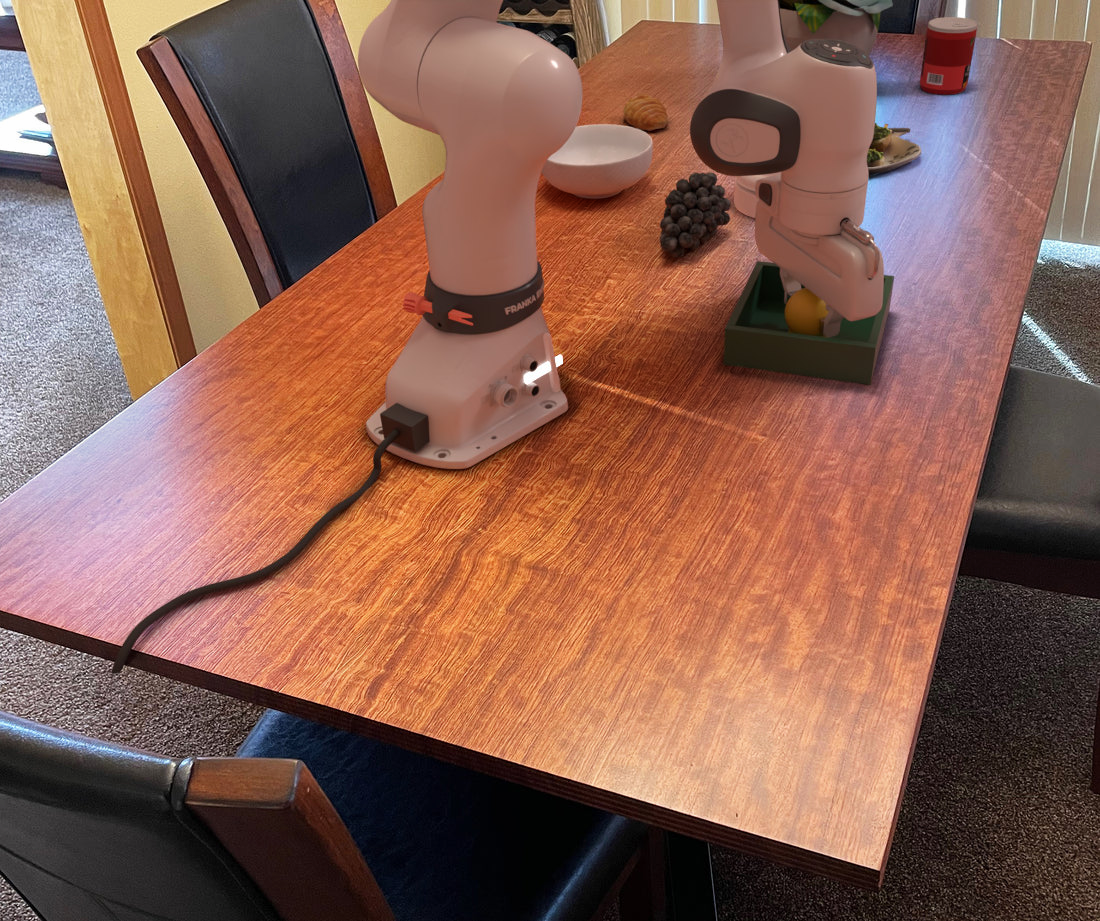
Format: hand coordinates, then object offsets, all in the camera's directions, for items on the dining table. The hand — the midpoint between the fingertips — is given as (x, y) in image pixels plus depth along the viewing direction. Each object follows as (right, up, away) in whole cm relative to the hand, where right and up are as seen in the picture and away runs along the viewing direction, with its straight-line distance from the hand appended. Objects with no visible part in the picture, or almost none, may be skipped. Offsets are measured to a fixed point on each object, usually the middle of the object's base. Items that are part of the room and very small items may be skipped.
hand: (810, 319), depth 124 cm
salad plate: (+17, +31, +46) cm, 58 cm away
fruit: (-11, +13, +24) cm, 30 cm away
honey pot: (+3, +21, +33) cm, 39 cm away
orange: (0, -2, +1) cm, 2 cm away
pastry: (-13, +41, +63) cm, 76 cm away
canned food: (+39, +49, +69) cm, 94 cm away
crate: (0, -2, +2) cm, 3 cm away
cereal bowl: (-22, +25, +41) cm, 53 cm away
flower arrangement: (+17, +51, +74) cm, 91 cm away
